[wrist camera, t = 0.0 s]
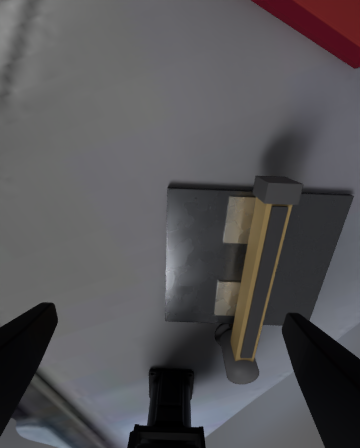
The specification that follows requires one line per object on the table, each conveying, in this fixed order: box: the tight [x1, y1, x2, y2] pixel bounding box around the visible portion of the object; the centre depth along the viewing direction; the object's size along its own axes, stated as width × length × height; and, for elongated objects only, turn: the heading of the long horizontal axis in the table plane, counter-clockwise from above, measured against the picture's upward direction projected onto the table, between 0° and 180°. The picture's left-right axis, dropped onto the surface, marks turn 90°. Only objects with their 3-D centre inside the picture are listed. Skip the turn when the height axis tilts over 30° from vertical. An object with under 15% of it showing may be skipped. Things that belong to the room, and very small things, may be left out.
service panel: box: [165, 187, 354, 346], centre depth 25 cm, size 22×18×1 cm
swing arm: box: [220, 176, 303, 384], centre depth 22 cm, size 23×4×4 cm, turn 178°
